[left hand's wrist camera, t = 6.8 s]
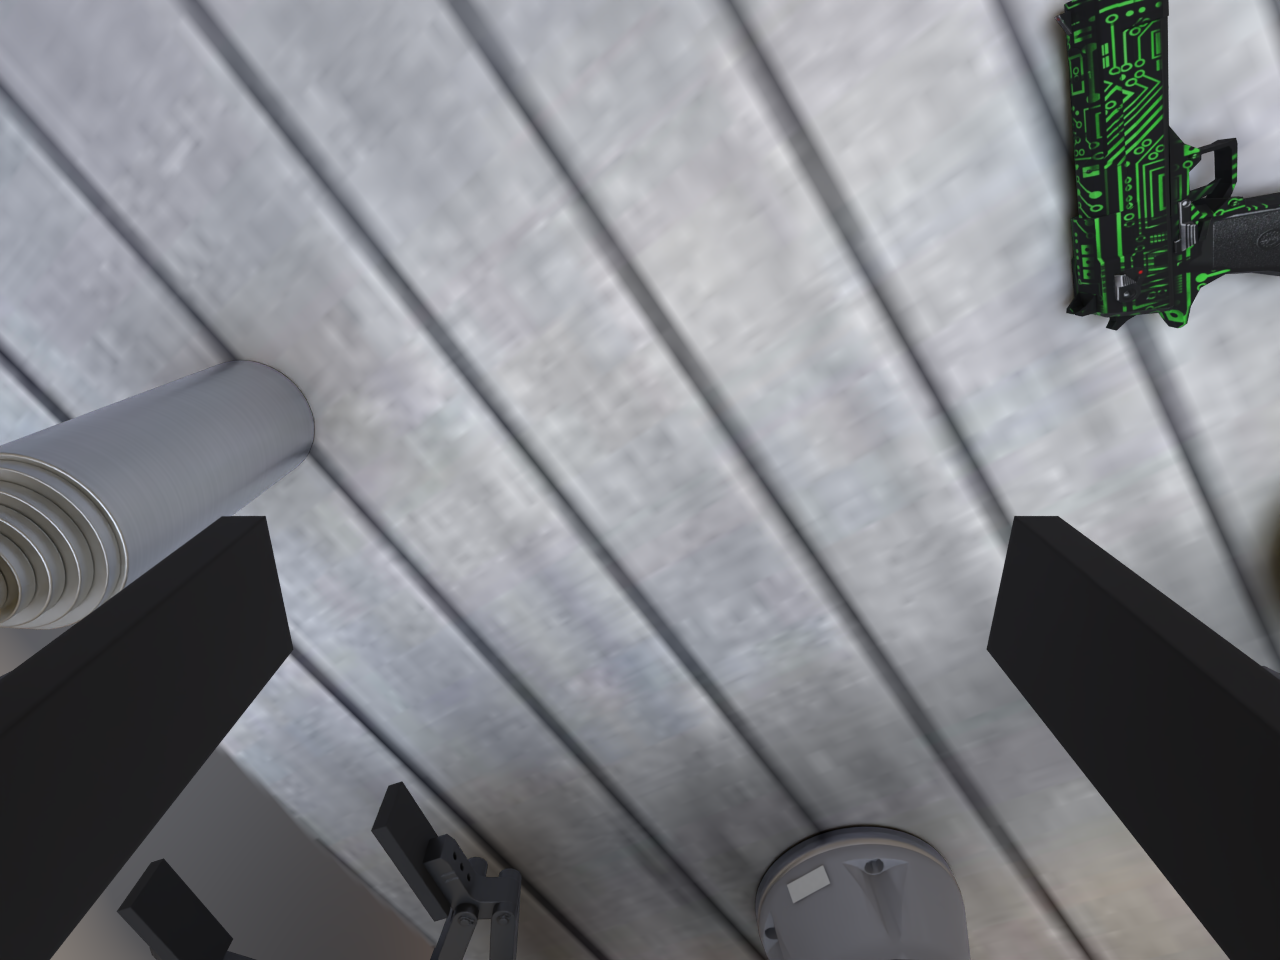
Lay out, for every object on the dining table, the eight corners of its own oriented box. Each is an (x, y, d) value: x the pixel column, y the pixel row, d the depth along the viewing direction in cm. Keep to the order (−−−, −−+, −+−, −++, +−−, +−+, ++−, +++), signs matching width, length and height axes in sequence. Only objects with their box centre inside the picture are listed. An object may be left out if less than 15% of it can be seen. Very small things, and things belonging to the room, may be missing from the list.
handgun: (1370, 299, 35) (1070, 355, 36) (1315, 293, 38) (1037, 346, 39) (1433, -86, 30) (1077, -13, 30) (1363, -60, 33) (1039, 7, 33)
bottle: (165, 396, 40) (-309, 585, 20) (261, 337, 39) (-142, 475, 19) (246, 496, 42) (-110, 756, 22) (339, 442, 41) (52, 667, 21)
